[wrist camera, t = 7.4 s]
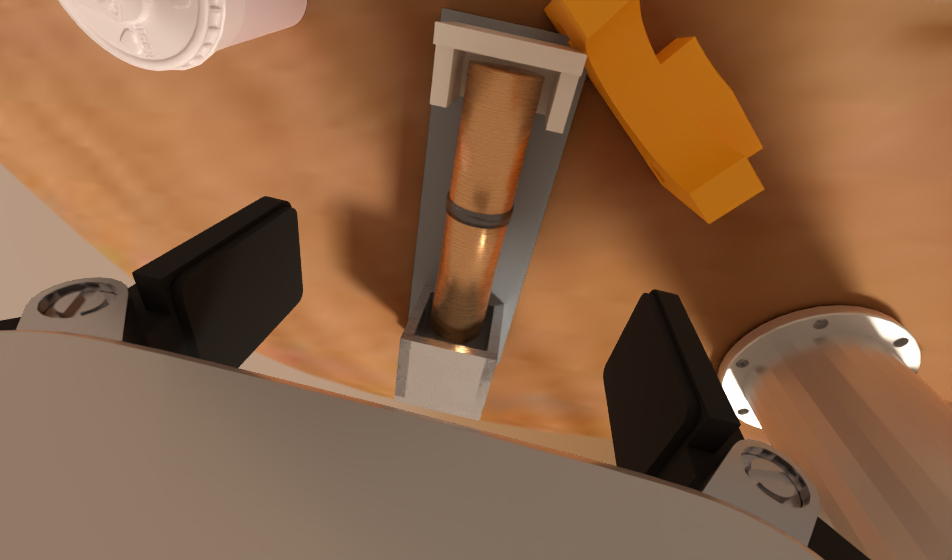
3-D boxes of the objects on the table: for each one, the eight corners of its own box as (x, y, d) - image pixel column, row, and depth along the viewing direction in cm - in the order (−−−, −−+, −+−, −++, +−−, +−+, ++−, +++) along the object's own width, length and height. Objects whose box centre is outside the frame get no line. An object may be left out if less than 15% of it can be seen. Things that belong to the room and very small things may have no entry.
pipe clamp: (731, 136, 23) (806, 163, 17) (661, 185, 24) (709, 224, 19) (617, -65, 19) (666, -116, 13) (543, 10, 20) (558, -8, 15)
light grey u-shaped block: (577, 48, 20) (587, 54, 16) (558, 115, 22) (563, 136, 18) (455, 21, 20) (435, 21, 16) (447, 91, 22) (426, 106, 18)
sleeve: (504, 303, 30) (497, 360, 25) (488, 360, 33) (479, 420, 28) (423, 285, 30) (400, 338, 25) (416, 343, 33) (394, 400, 28)
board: (593, 40, 21) (596, 41, 20) (499, 354, 34) (498, 364, 33) (446, 8, 21) (441, 7, 20) (409, 333, 34) (405, 342, 33)
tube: (546, 73, 20) (547, 83, 17) (485, 314, 29) (479, 350, 26) (473, 57, 20) (460, 64, 17) (435, 302, 29) (422, 337, 26)
